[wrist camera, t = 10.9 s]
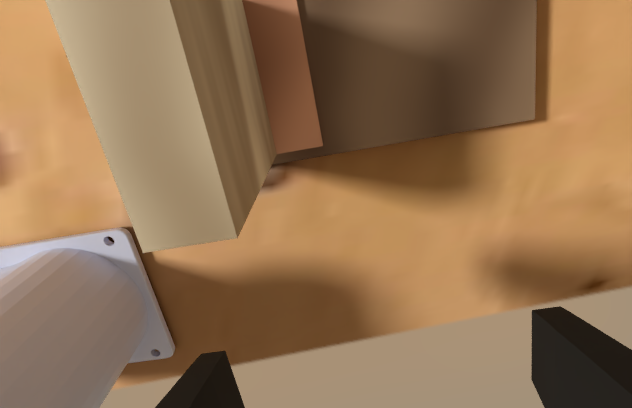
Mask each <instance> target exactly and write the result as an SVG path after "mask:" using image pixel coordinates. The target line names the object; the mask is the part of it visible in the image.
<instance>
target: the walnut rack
mask: <svg viewBox="0 0 632 408" xmlns="http://www.w3.org/2000/svg"><path fill="white" fill-rule="evenodd" d="M242 2H243V7H244V11H245V15H246V20H247V24H248V29H249V33H250V38H251V42H252V46H253V51H254V55H255V60H256V64H257V69H258V73H259V77H260V82H261V86H262V91H263V95H264V100H265V104H266V108H267V113H268V117H269V122H270V126H271V131H272V135H273V139H274V144H275V148H276V153H277V155H276V157H275V159H274V161H273V163H272V165H274V164H279V163H285V162H291V161H297V160H303V159H308V158H314V157H320V156H326V155H331V154H337V153H343V152H349V151H355V150H360V149H366V148H372V147H378V146H383V145H389V144H395V143H401V142H407V141H412V140H418V139H424V138H430V137H436V136H441V135H447V134H453V133H459V132H464V131H470V130H476V129H482V128H488V127H493V126H499V125H505V124H511V123H516V122H522V121H528V120H534V119H535V81H536V14H537V0H242Z"/></svg>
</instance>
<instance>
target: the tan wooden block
mask: <svg viewBox="0 0 632 408" xmlns="http://www.w3.org/2000/svg"><path fill="white" fill-rule="evenodd" d="M45 1H46V3H47V6H48V8H49V11H50V14H51V16H52V19H53V21H54V24H55V27H56V29H57V32H58V34H59V37H60V39H61V42H62V45H63V47H64V50H65V52H66V55H67V58H68V60H69V63H70V65H71V68H72V71H73V73H74V76H75V78H76V81H77V83H78V86H79V89H80V91H81V94H82V96H83V99H84V102H85V104H86V107H87V109H88V112H89V115H90V117H91V120H92V122H93V125H94V127H95V130H96V133H97V135H98V138H99V140H100V143H101V146H102V148H103V151H104V153H105V156H106V159H107V161H108V164H109V166H110V169H111V171H112V174H113V177H114V179H115V182H116V184H117V187H118V190H119V192H120V195H121V197H122V200H123V203H124V205H125V208H126V210H127V213H128V215H129V218H130V221H131V223H132V226H133V228H134V231H135V234H136V236H137V239H138V241H139V244H140V247H141V249H142V252H143V253H146V252H152V251H159V250H165V249H172V248H178V247H184V246H191V245H197V244H203V243H210V242H216V241H223V240H229V239H235V238H238V236H239V234H240V232H241V229H242V227H243V225H244V223H245V221H246V219H247V217H248V214H249V212H250V210H251V208H252V206H253V204H254V202H255V200H256V197H257V195H258V193H259V191H260V189H261V187H262V185H263V182H264V180H265V178H266V176H267V174H268V172H269V170H270V168H271V165H272V163H273V161H274V159H275V157H276V155H277V153H276V148H275V144H274V139H273V135H272V131H271V126H270V122H269V117H268V113H267V108H266V104H265V100H264V95H263V91H262V86H261V82H260V77H259V73H258V69H257V64H256V60H255V55H254V51H253V46H252V42H251V38H250V33H249V29H248V24H247V20H246V15H245V11H244V7H243V2H242V0H45Z"/></svg>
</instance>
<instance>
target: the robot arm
mask: <svg viewBox="0 0 632 408" xmlns="http://www.w3.org/2000/svg"><path fill="white" fill-rule="evenodd" d="M108 237H111V238H113V240H114V242H111V241H110V240H109V239H108ZM155 349H157V350H159V351H156V350H155ZM174 351H175V345H174V343H173V340H172V337H171V335H170V332H169V330H168V327H167V325H166V322H165V320H164V317H163V314H162V312H161V309H160V307H159V304H158V302H157V299H156V297H155V294H154V291H153V289H152V286H151V284H150V281H149V279H148V276H147V274H146V271H145V268H144V266H143V263H142V261H141V258H140V256H139V253H138V251H137V248H136V245H135V243H134V240H133V238H132V235H131V234H130V232H129V231H128V230H127V229H124V228H113V229H107V230H101V231H95V232H89V233H82V234H76V235H70V236H64V237H58V238H52V239H46V240H40V241H34V242H28V243H21V244H15V245H9V246H3V247H0V408H100V406H101V404H102V403H103V401H104V400H105V398H106V396H107V395H108V393H109V392H110V390H111V389H112V387H113V385H114V384H115V382H116V381H117V379H118V377H119V376H120V374H121V373H122V371H123V370H124V368H125V366H126V365H127V363H134V362H142V361H150V360H157V359H165V358H169V357H171V356H172V355H173V353H174ZM532 381H533V384H534V386H535V388H536V390H537V392H538V394H539V397H540V399H541V401H542V403H543V405H544V407H545V408H632V350H631V349H629V348H627V347H626V346H624V345H623V344H621V343H619V342H618V341H616V340H615V339H613V338H611V337H610V336H608V335H606V334H604V333H603V332H601V331H600V330H598V329H597V328H595V327H593V326H592V325H590V324H589V323H587V322H585V321H584V320H582V319H581V318H579V317H577V316H575V315H574V314H572V313H571V312H569V311H567V310H565V309H564V308H562V307H553V308H545V309H538V310H532ZM155 408H245V407H244V404H243V401H242V398H241V395H240V392H239V390H238V387H237V384H236V381H235V378H234V375H233V372H232V369H231V366H230V364H229V361H228V358H227V355H226V352H225V351H220V352H212V353H205V354H201V355H200V356H199V357H198V358H197V359H196V360H195V362H194V363H193V364H192V365H191V366H190V367H189V368H188V370H187V371H186V372H185V373H184V374H183V376H182V377H181V378H180V379H179V380H178V381H177V383H176V384H175V385H174V386H173V387H172V389H171V390H170V391H169V392H168V394H167V395H166V396H165V397H164V398H163V399H162V400H161V401H160V403H159V404H158V405H157V406H156V407H155Z"/></svg>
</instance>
